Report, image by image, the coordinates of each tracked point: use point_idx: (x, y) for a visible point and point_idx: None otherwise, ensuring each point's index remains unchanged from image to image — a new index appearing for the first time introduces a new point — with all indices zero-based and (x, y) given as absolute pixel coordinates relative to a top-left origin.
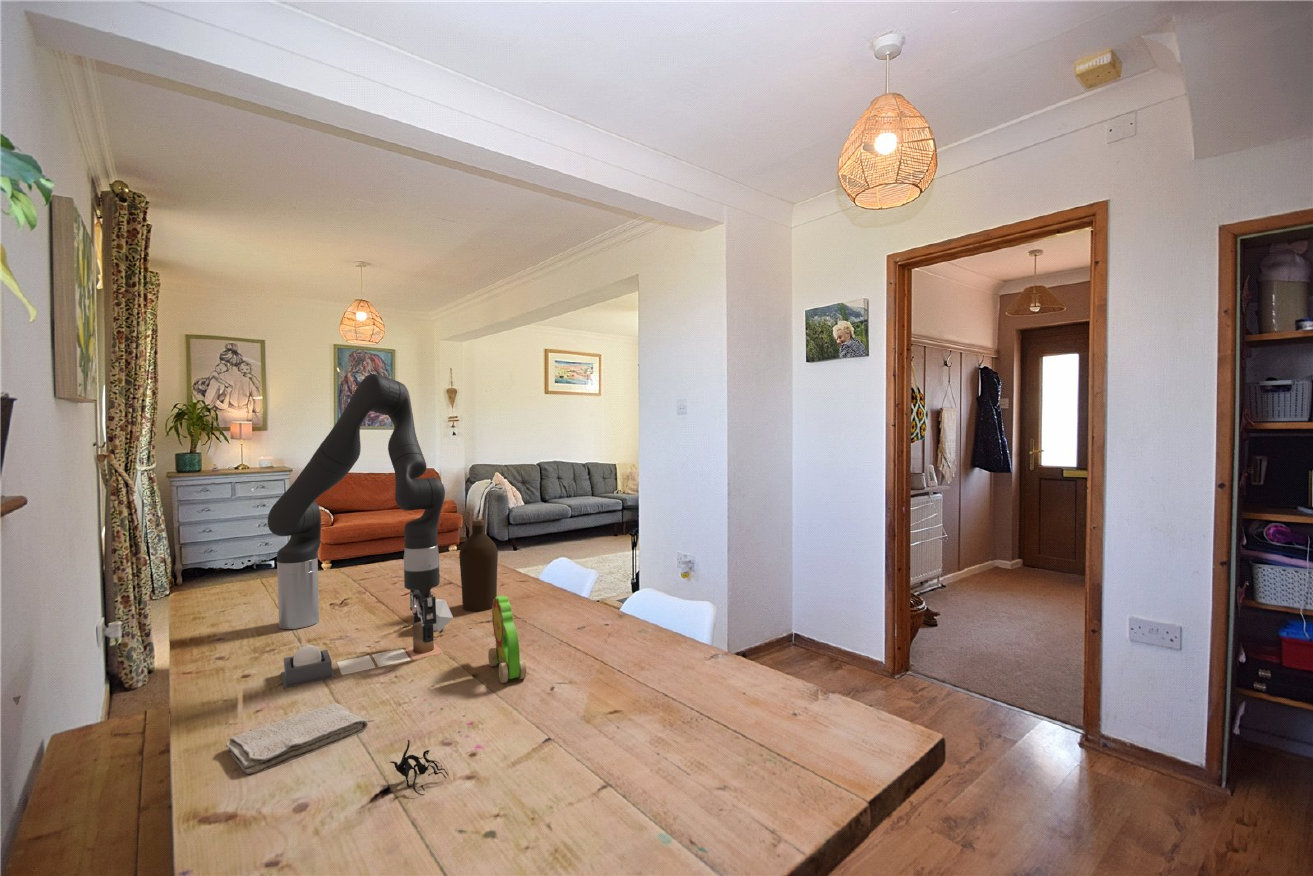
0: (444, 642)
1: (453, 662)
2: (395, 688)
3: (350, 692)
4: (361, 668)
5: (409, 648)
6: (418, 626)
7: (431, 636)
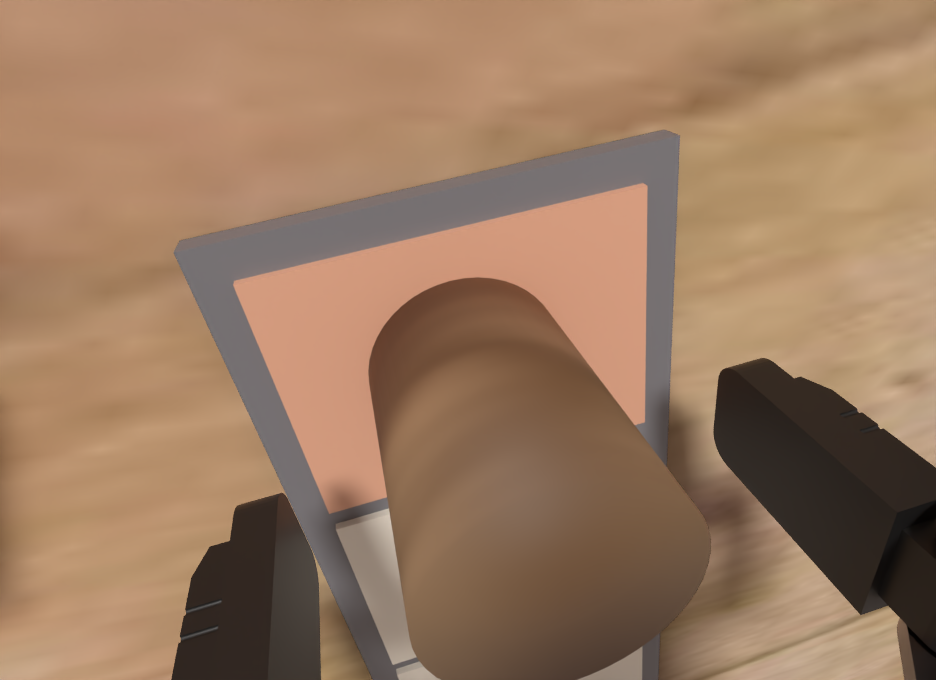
0: (159, 140)
1: (840, 84)
2: (932, 445)
3: (812, 602)
4: None
5: (365, 480)
6: (647, 625)
7: (844, 407)
